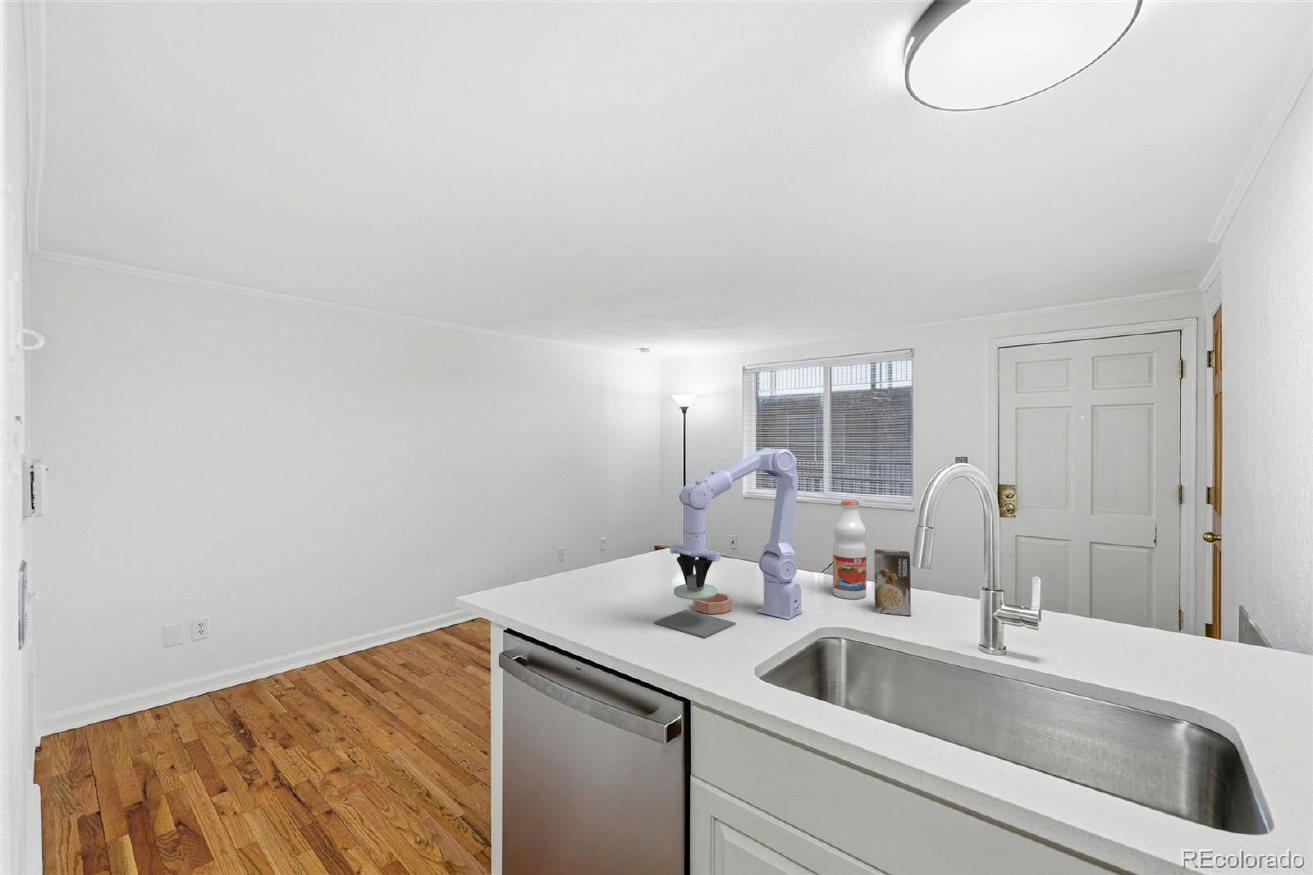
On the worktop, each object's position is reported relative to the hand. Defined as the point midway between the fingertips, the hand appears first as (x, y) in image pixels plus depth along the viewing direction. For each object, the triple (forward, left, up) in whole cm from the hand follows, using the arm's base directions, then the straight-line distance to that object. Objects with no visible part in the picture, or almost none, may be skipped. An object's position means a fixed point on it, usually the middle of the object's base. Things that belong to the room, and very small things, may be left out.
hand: (694, 585), depth 149 cm
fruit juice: (-19, -50, -10) cm, 54 cm away
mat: (0, 0, -10) cm, 10 cm away
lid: (0, 0, -2) cm, 2 cm away
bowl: (+4, -13, -10) cm, 17 cm away
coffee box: (-34, -43, -10) cm, 56 cm away
